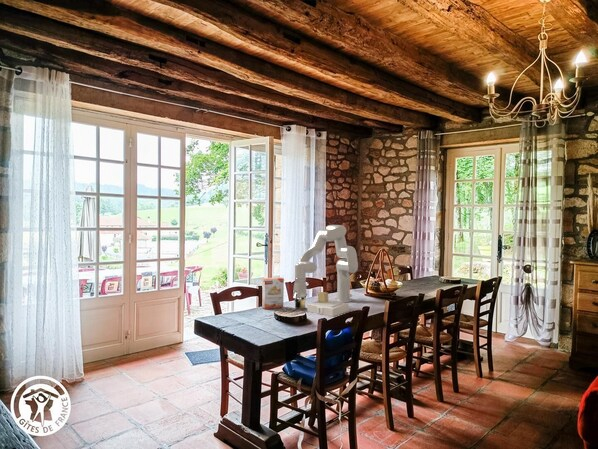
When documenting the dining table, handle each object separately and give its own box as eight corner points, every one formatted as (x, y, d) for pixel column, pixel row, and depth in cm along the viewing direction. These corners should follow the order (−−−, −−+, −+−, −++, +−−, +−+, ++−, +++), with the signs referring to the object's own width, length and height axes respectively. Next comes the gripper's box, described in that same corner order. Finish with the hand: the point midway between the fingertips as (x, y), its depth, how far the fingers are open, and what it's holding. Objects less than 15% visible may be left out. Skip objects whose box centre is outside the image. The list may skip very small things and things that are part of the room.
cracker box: (264, 309, 280) (264, 279, 280) (262, 307, 286) (262, 277, 285) (283, 308, 285) (284, 278, 285) (281, 306, 291) (281, 276, 290)
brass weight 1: (299, 306, 288) (299, 298, 287) (305, 307, 285) (305, 299, 284) (295, 308, 284) (295, 299, 283) (301, 309, 281) (301, 300, 280)
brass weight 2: (322, 300, 282) (322, 292, 282) (328, 301, 279) (328, 292, 279) (318, 301, 278) (318, 293, 278) (324, 302, 275) (324, 293, 275)
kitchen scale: (323, 306, 290) (323, 298, 290) (348, 310, 278) (348, 302, 278) (306, 312, 273) (306, 303, 273) (332, 316, 261) (332, 307, 261)
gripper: (303, 278, 293) (303, 304, 293) (288, 281, 279) (288, 308, 279) (311, 279, 288) (311, 305, 289) (297, 283, 275) (297, 309, 275)
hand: (300, 306), depth 284 cm, fingers closed on brass weight 1, 5 cm apart
